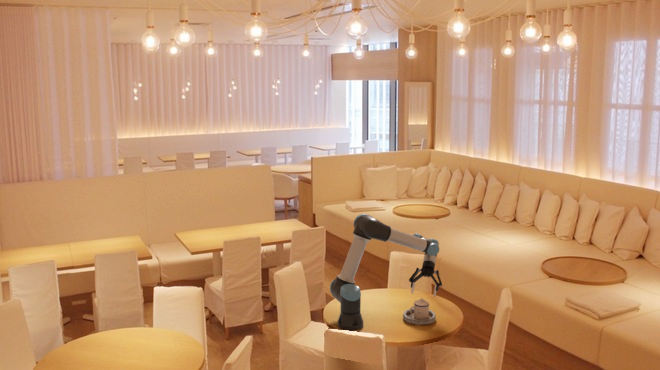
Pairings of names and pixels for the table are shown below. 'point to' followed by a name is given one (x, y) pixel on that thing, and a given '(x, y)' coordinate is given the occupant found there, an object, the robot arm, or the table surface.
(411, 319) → the round grey tray
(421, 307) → the teacup with lid
